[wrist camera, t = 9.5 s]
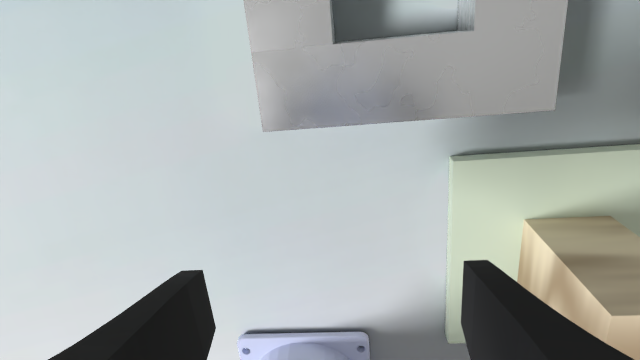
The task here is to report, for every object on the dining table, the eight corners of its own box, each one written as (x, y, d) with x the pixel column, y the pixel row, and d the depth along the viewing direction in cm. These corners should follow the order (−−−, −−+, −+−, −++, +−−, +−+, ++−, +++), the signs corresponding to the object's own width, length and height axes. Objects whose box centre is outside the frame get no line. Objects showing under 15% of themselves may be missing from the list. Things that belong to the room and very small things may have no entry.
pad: (645, 329, 22) (655, 339, 21) (444, 333, 23) (448, 343, 22) (692, 140, 18) (707, 145, 18) (449, 156, 19) (453, 161, 19)
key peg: (596, 284, 20) (711, 404, 14) (516, 286, 21) (592, 404, 14) (610, 215, 19) (745, 313, 13) (523, 219, 19) (611, 315, 13)
